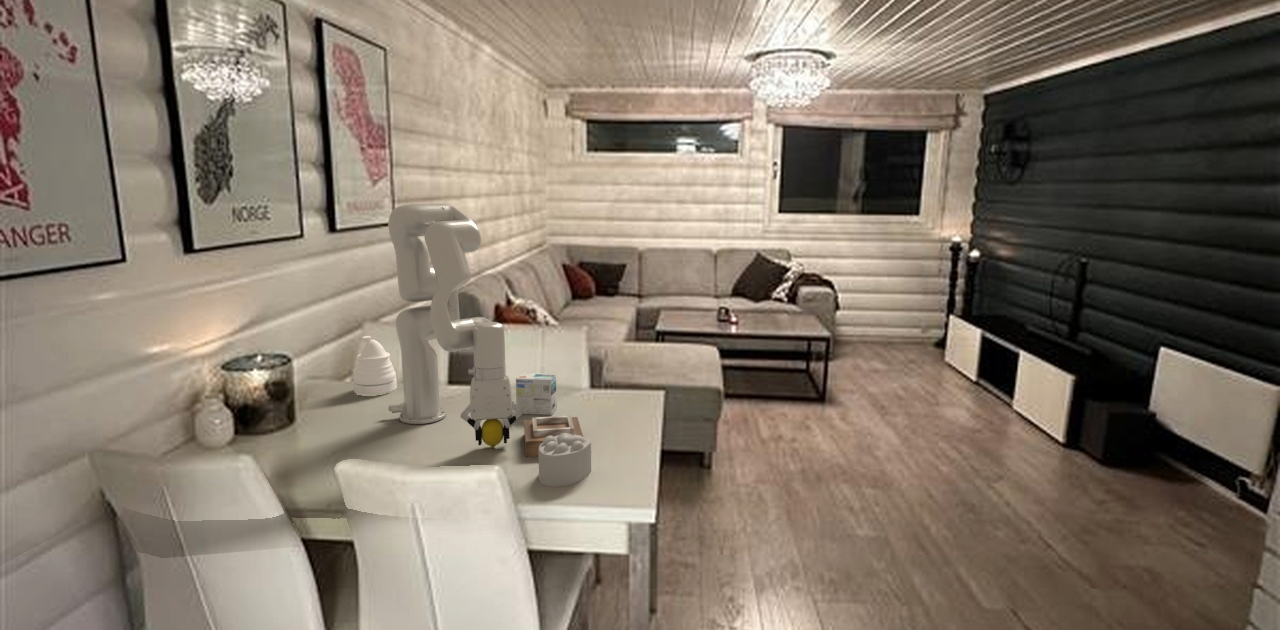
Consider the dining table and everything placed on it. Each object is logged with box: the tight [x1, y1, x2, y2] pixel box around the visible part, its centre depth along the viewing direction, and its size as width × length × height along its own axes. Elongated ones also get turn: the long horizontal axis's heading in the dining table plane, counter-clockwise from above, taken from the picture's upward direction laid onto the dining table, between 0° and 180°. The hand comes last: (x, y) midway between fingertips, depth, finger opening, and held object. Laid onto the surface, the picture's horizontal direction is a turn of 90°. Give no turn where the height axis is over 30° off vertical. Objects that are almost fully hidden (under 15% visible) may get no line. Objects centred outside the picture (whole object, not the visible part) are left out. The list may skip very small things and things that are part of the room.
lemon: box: [481, 419, 504, 449], centre depth 173 cm, size 6×6×8 cm
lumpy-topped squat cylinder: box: [538, 433, 592, 488], centre depth 156 cm, size 10×13×9 cm
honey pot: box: [353, 335, 398, 394], centre depth 220 cm, size 13×13×18 cm
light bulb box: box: [515, 372, 558, 416], centre depth 201 cm, size 11×7×11 cm, turn 84°
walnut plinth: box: [523, 415, 584, 458], centre depth 176 cm, size 14×16×6 cm
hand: (492, 441), depth 173 cm, fingers closed on lemon, 5 cm apart
